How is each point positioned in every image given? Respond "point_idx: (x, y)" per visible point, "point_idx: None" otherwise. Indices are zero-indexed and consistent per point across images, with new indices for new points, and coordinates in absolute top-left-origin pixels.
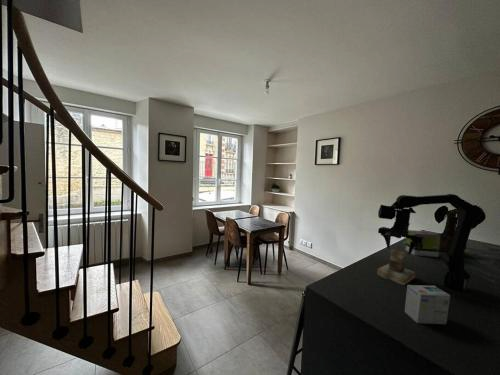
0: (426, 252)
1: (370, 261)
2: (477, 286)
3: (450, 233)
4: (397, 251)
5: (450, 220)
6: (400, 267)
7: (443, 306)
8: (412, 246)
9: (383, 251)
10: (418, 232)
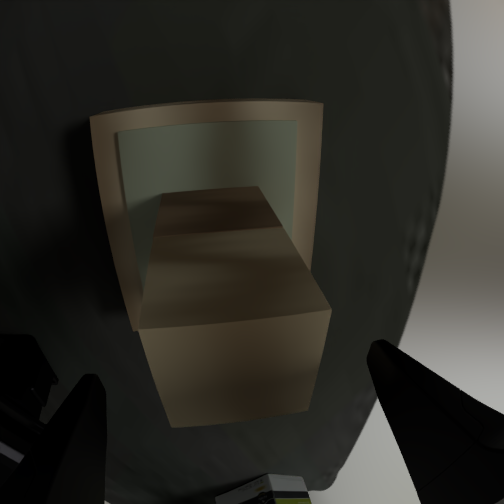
0: (241, 497)
1: (394, 285)
2: None
3: None
4: (233, 340)
5: None
6: (160, 215)
7: None
8: (11, 490)
9: (361, 424)
10: None
